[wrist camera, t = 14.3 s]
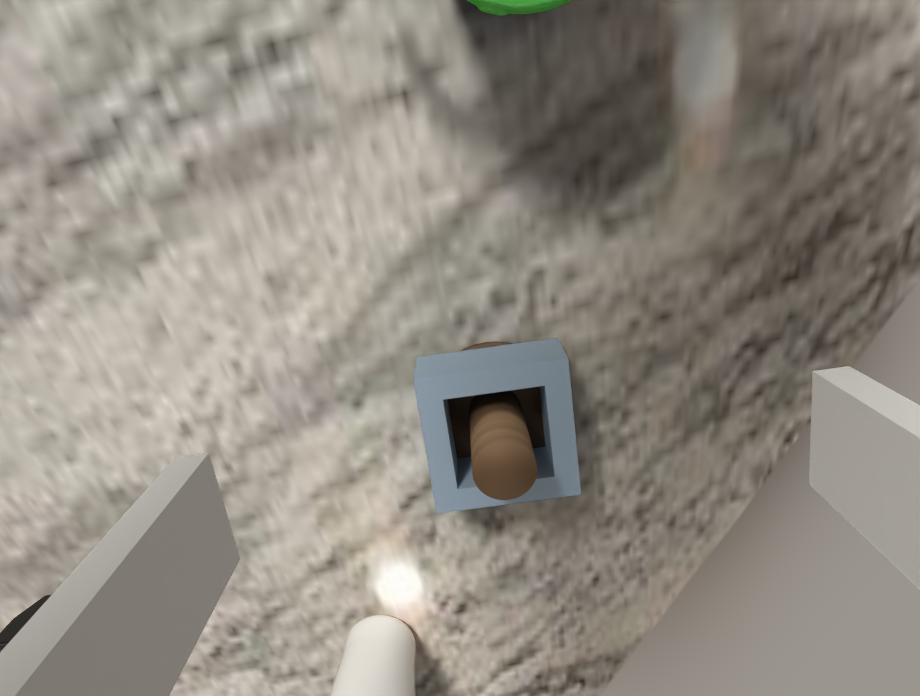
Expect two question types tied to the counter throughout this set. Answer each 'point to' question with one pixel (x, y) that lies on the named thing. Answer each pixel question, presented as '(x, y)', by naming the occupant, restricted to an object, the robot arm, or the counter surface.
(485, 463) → the post
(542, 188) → the counter surface
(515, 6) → the snack cup
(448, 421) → the collar
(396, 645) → the drinking glass
